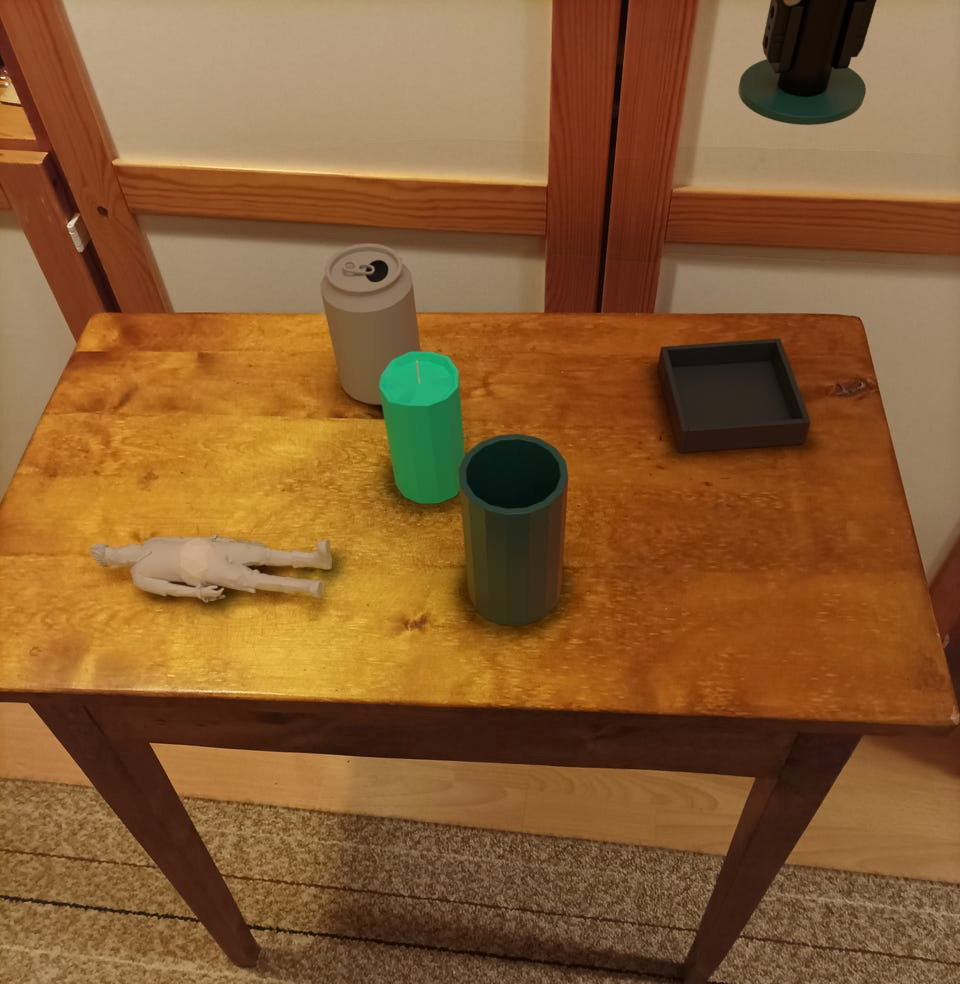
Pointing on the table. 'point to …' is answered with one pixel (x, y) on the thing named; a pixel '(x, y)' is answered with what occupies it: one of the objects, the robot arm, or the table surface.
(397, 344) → the can
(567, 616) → the table surface
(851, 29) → the robot arm
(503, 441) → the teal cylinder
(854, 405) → the table surface
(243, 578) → the figurine
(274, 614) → the table surface
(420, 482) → the candle
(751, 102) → the pan lid
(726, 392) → the square tray
